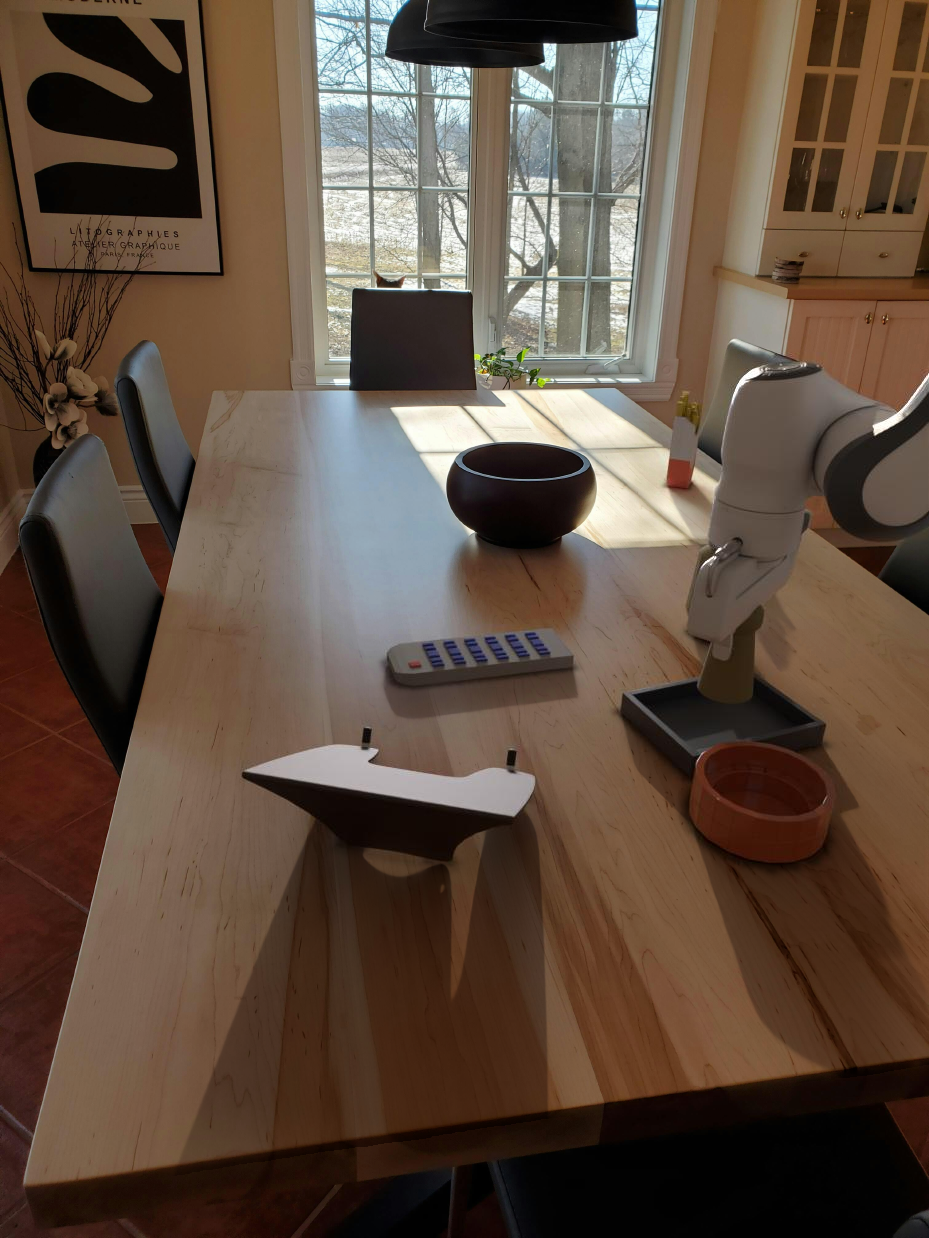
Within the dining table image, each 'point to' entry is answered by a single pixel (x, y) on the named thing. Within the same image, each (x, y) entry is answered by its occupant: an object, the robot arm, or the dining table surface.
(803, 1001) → the dining table surface
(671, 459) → the french fries container
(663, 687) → the tray
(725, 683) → the olive green bottle
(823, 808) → the bowl
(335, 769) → the laptop tray
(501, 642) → the remote control
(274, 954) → the dining table surface
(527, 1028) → the dining table surface
